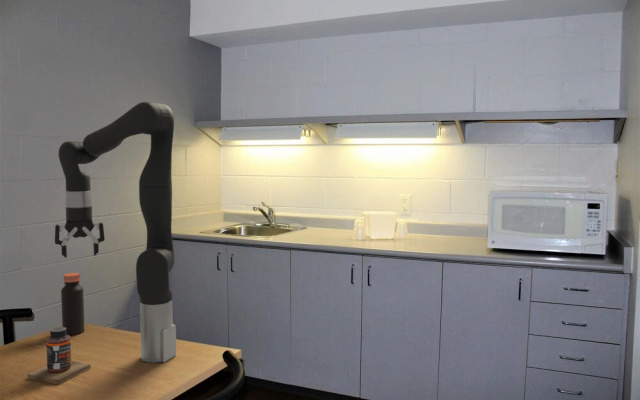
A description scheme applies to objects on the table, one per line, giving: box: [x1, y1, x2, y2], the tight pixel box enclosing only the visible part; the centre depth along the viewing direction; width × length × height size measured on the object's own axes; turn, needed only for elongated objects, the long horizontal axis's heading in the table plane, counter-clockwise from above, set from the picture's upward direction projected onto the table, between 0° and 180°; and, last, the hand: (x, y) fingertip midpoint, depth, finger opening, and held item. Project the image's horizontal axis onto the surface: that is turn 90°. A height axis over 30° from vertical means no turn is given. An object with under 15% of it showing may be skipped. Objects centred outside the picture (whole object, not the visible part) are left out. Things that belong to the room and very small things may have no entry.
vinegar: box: [60, 272, 85, 336], centre depth 175 cm, size 7×7×20 cm
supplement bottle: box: [46, 326, 72, 373], centre depth 143 cm, size 6×6×11 cm
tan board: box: [27, 360, 91, 385], centre depth 143 cm, size 11×11×1 cm
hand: (80, 256), depth 164 cm, fingers open, 8 cm apart
